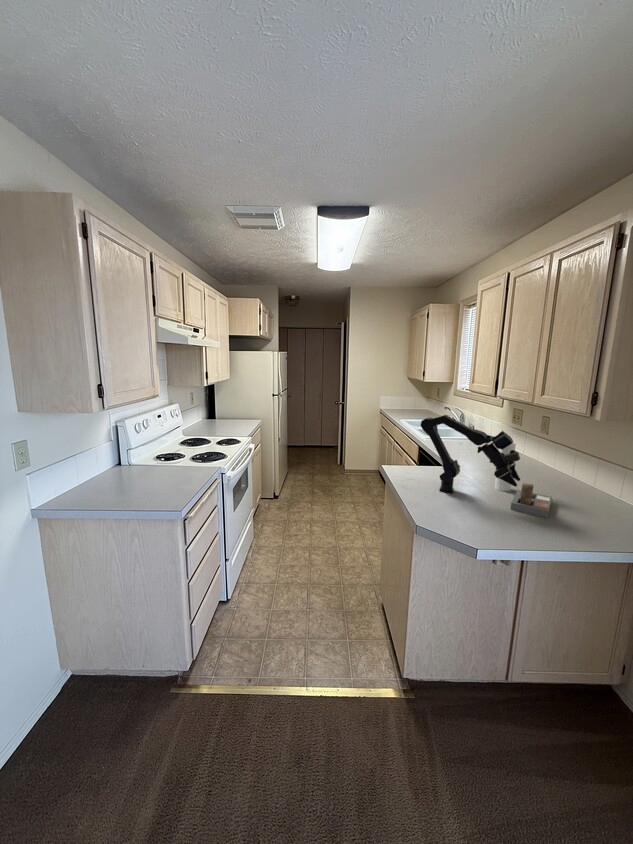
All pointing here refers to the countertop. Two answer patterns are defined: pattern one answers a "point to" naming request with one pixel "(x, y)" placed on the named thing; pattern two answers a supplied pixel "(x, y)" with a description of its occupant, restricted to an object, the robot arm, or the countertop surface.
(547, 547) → the countertop surface
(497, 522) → the countertop surface
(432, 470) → the countertop surface
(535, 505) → the socket block
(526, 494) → the brown wooden block
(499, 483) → the cylindrical container
